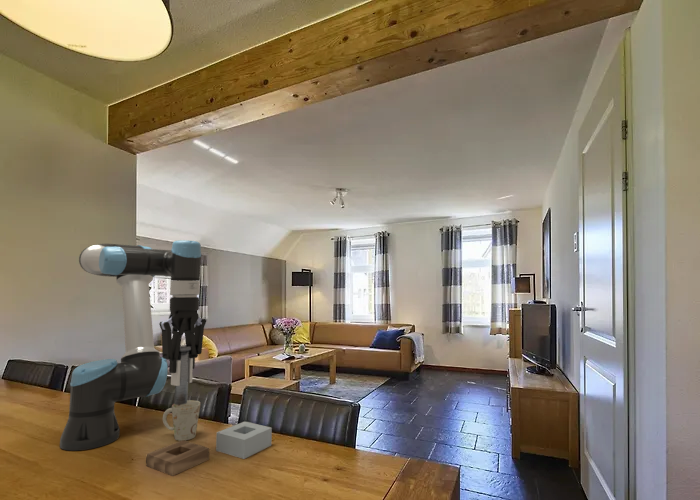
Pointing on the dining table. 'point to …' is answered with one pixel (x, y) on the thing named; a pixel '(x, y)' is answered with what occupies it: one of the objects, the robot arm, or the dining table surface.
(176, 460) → the block
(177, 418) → the mug
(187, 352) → the pin
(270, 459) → the dining table surface
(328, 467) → the dining table surface
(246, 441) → the socket
